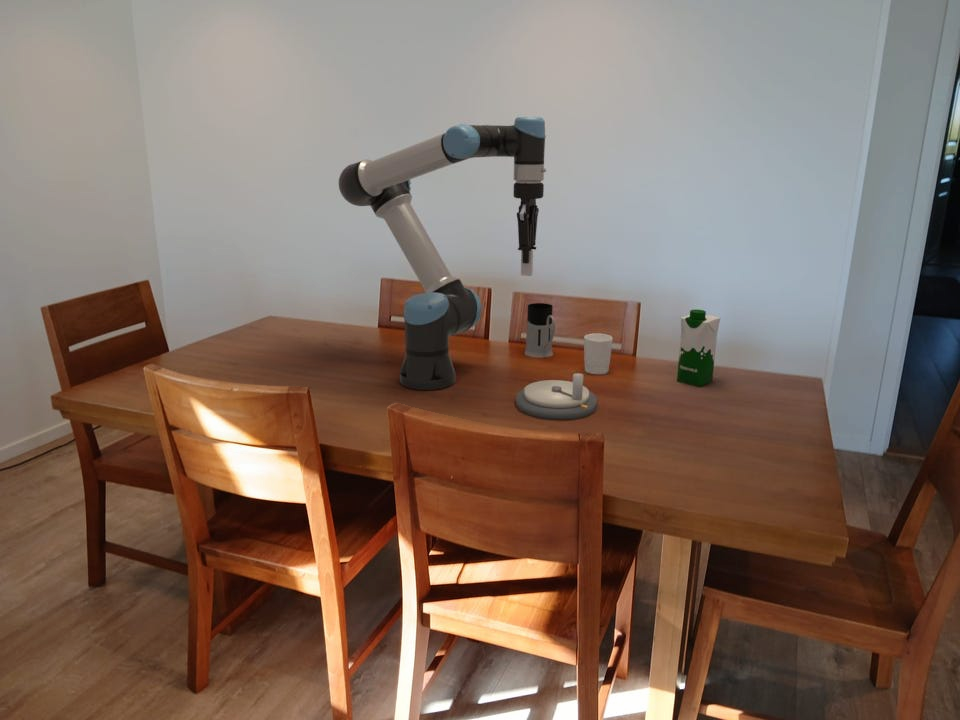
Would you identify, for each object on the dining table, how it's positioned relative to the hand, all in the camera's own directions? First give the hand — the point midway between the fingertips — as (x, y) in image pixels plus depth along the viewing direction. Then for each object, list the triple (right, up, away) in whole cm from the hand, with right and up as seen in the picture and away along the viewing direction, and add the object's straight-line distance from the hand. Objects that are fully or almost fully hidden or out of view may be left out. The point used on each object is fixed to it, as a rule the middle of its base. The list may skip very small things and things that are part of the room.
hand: (526, 275), depth 189 cm
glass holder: (+7, -21, +32) cm, 39 cm away
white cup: (+21, -25, +18) cm, 38 cm away
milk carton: (+47, -28, +10) cm, 55 cm away
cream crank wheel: (+7, -31, -8) cm, 33 cm away
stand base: (+7, -33, -7) cm, 35 cm away
